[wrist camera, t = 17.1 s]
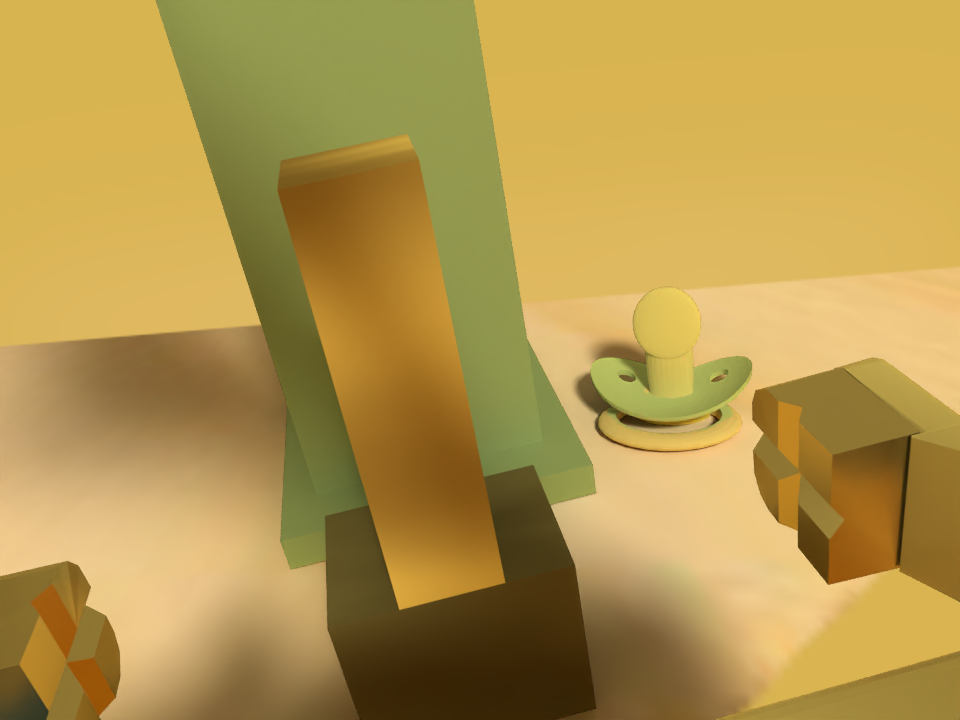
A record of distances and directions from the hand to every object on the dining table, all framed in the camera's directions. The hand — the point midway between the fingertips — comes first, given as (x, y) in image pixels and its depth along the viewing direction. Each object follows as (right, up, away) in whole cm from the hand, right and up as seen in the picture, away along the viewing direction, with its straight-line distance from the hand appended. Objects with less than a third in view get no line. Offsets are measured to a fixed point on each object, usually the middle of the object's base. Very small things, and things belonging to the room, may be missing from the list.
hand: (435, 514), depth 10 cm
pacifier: (+9, -1, +29) cm, 31 cm away
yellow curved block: (-1, -2, +12) cm, 12 cm away
